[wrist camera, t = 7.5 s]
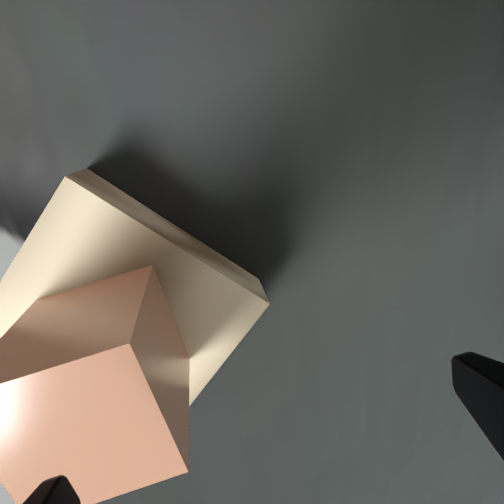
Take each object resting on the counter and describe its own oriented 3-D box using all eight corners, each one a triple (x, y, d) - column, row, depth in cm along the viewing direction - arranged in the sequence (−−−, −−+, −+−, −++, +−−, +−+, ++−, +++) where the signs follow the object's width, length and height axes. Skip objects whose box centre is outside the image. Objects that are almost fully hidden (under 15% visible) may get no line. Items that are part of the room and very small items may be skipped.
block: (152, 264, 15) (129, 343, 10) (189, 358, 17) (188, 471, 11) (35, 299, 15) (-59, 402, 9) (85, 391, 17) (31, 524, 11)
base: (258, 278, 20) (269, 303, 17) (157, 410, 21) (152, 452, 18) (86, 168, 16) (65, 176, 14) (-16, 332, 18) (-54, 369, 15)
